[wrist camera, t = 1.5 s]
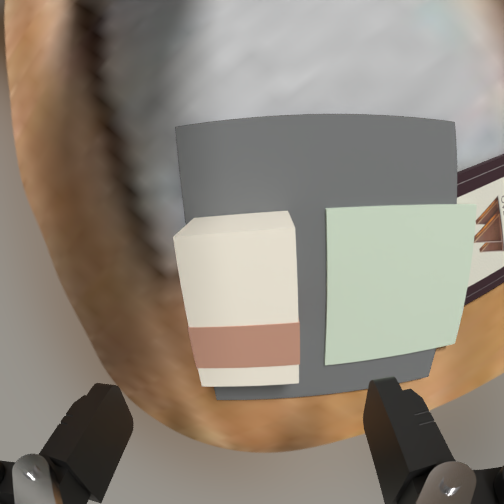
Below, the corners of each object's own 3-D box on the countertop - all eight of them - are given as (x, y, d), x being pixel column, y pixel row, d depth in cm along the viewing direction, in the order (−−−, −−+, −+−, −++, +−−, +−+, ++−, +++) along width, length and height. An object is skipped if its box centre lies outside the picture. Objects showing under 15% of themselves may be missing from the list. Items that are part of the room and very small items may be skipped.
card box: (193, 217, 16) (171, 237, 13) (288, 210, 16) (296, 227, 12) (212, 344, 19) (200, 386, 15) (294, 340, 19) (300, 383, 15)
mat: (178, 127, 16) (173, 126, 15) (467, 124, 14) (475, 124, 14) (217, 394, 21) (216, 402, 20) (440, 368, 20) (445, 374, 19)
